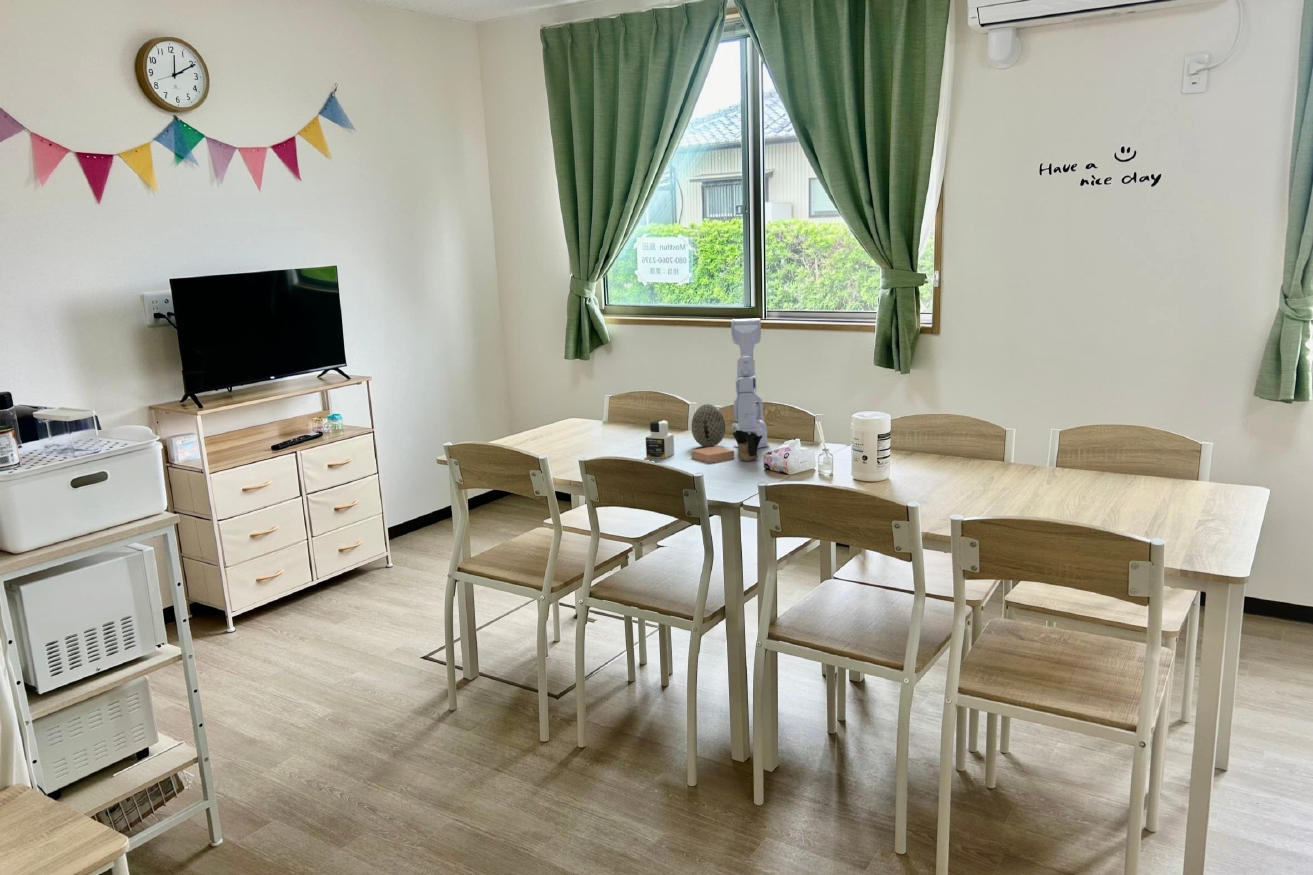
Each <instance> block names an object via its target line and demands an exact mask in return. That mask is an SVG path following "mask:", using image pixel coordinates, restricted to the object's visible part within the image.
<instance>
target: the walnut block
mask: <svg viewBox="0 0 1313 875" xmlns="http://www.w3.org/2000/svg"><path fill="white" fill-rule="evenodd" d="M737 458H738V460H742V461H746V462H748V461H753V460H758V459H759V448H757V453H756V455H755V456H750V455H749V447H748V442H744V443H738V447H737Z"/></svg>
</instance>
